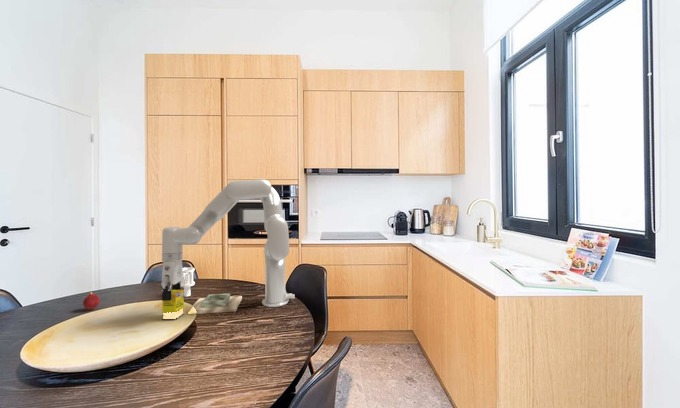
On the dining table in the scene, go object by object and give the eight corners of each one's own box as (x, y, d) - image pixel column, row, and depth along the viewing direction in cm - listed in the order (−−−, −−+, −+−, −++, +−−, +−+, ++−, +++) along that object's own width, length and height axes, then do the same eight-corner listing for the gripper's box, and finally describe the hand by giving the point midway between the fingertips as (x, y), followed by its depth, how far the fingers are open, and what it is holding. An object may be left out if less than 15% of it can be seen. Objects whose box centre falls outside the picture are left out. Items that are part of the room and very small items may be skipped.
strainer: (176, 297, 145) (175, 268, 145) (187, 292, 152) (187, 265, 152) (187, 298, 143) (186, 269, 143) (197, 294, 150) (197, 265, 150)
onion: (103, 307, 131) (103, 290, 131) (91, 312, 126) (91, 294, 125) (92, 307, 132) (91, 290, 132) (79, 312, 126) (79, 294, 126)
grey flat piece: (241, 298, 143) (241, 290, 143) (235, 311, 127) (235, 302, 127) (199, 301, 139) (199, 293, 139) (187, 314, 124) (187, 305, 123)
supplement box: (176, 320, 118) (175, 294, 117) (162, 320, 118) (161, 294, 118) (184, 314, 124) (184, 289, 123) (170, 314, 124) (170, 289, 124)
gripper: (173, 260, 112) (172, 303, 112) (189, 252, 129) (188, 289, 129) (152, 260, 111) (152, 304, 111) (171, 252, 128) (170, 290, 128)
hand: (171, 296), depth 120 cm, fingers open, 9 cm apart
